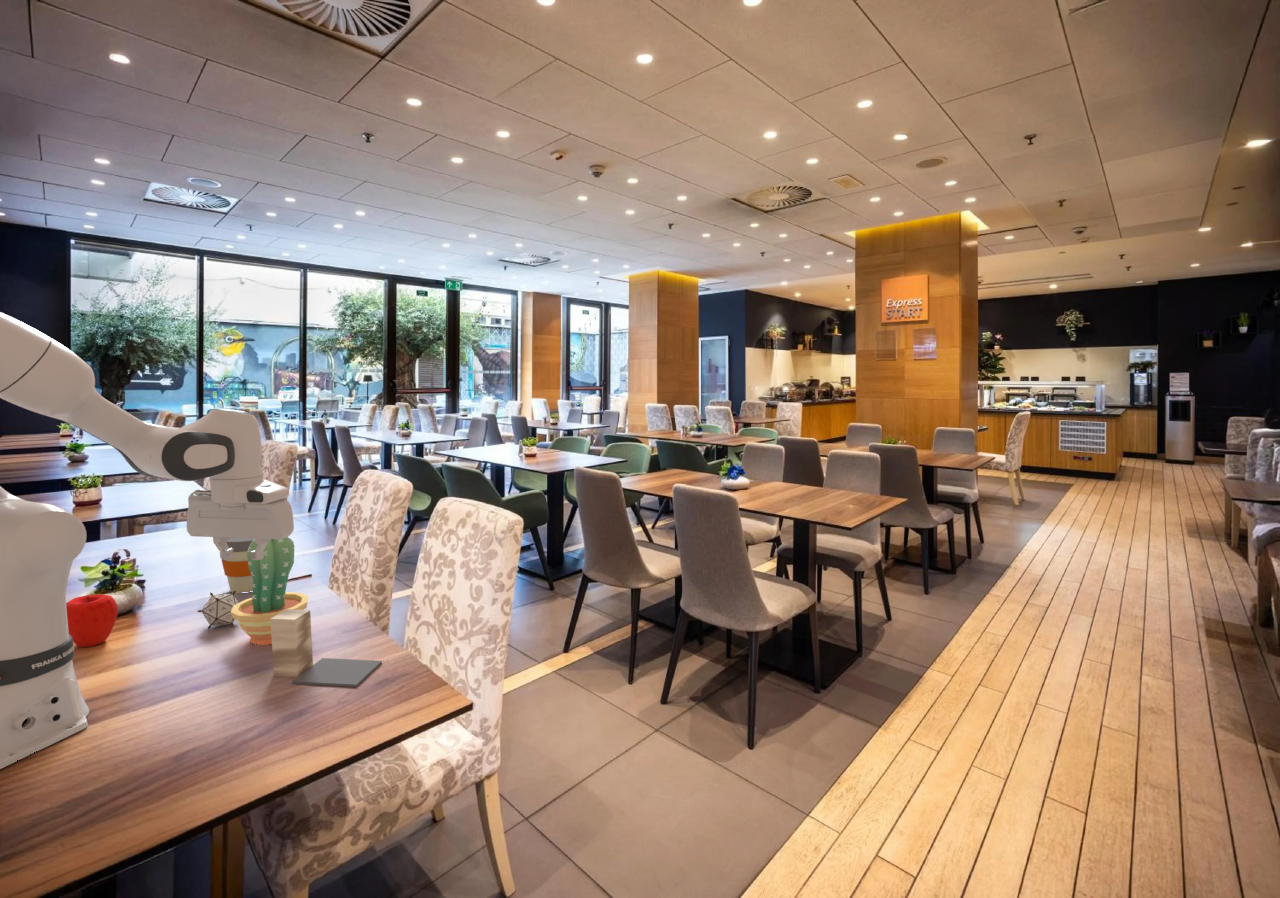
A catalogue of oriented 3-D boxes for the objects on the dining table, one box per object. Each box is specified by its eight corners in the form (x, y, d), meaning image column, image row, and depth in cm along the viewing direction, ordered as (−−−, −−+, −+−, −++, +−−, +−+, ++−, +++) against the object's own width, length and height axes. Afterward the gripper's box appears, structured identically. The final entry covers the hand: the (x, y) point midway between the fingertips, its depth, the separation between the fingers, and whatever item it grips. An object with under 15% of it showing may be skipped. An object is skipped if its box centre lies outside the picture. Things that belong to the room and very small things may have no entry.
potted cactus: (326, 629, 144) (321, 526, 142) (267, 656, 130) (260, 542, 127) (277, 619, 149) (271, 520, 147) (215, 645, 135) (207, 535, 132)
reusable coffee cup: (231, 582, 175) (228, 532, 174) (280, 579, 179) (277, 529, 177) (215, 597, 164) (211, 543, 162) (268, 593, 167) (265, 540, 166)
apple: (126, 632, 141) (122, 587, 140) (107, 648, 133) (102, 601, 131) (79, 637, 138) (75, 591, 137) (56, 654, 130) (51, 605, 129)
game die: (225, 643, 145) (214, 620, 138) (196, 627, 146) (184, 604, 139) (256, 613, 151) (247, 591, 145) (228, 599, 152) (218, 576, 146)
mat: (356, 687, 118) (356, 684, 118) (292, 683, 119) (292, 681, 118) (381, 663, 128) (381, 660, 127) (322, 660, 128) (322, 658, 128)
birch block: (297, 677, 121) (294, 619, 120) (273, 676, 121) (270, 618, 120) (312, 665, 126) (310, 610, 125) (289, 664, 126) (286, 609, 125)
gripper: (175, 492, 118) (180, 561, 119) (275, 495, 116) (279, 565, 118) (200, 486, 124) (205, 552, 126) (296, 489, 123) (300, 555, 124)
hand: (242, 558), depth 122 cm, fingers open, 5 cm apart
